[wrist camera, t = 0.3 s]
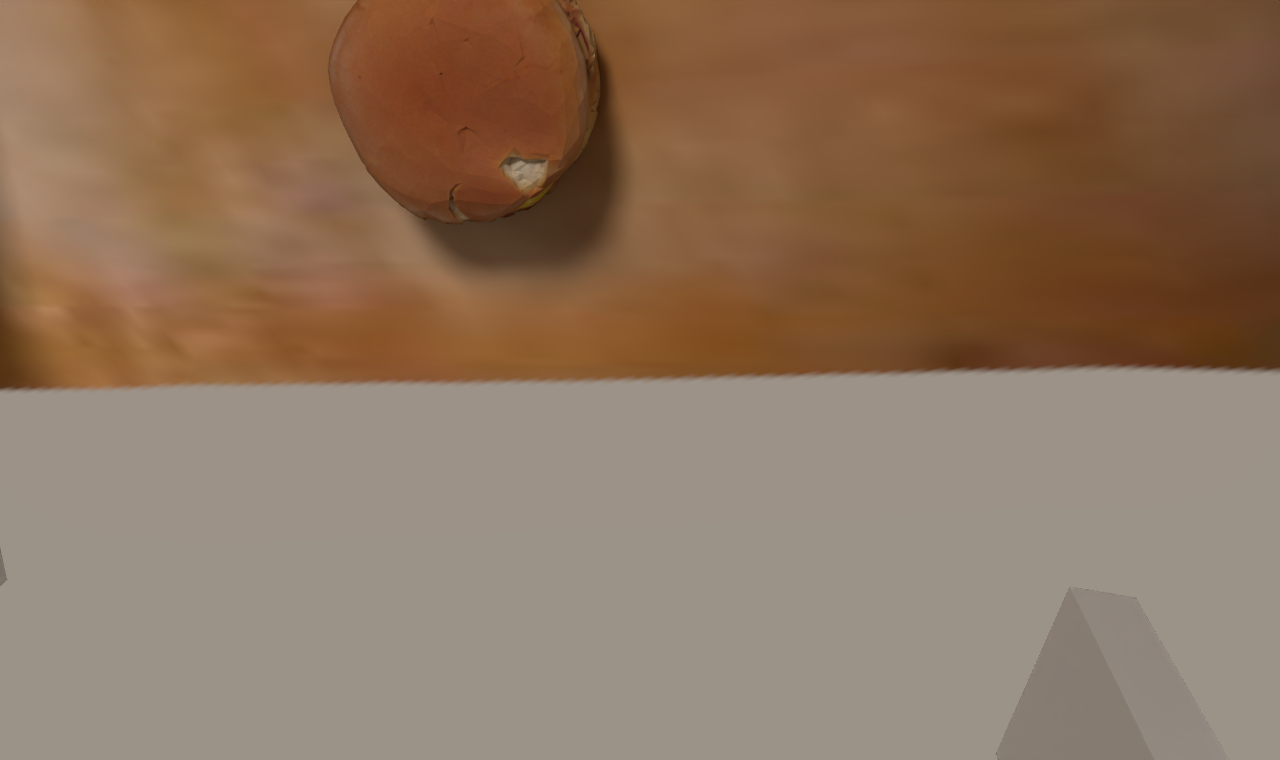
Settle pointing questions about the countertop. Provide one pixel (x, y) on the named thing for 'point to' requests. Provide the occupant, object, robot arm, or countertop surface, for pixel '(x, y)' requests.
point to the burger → (466, 100)
